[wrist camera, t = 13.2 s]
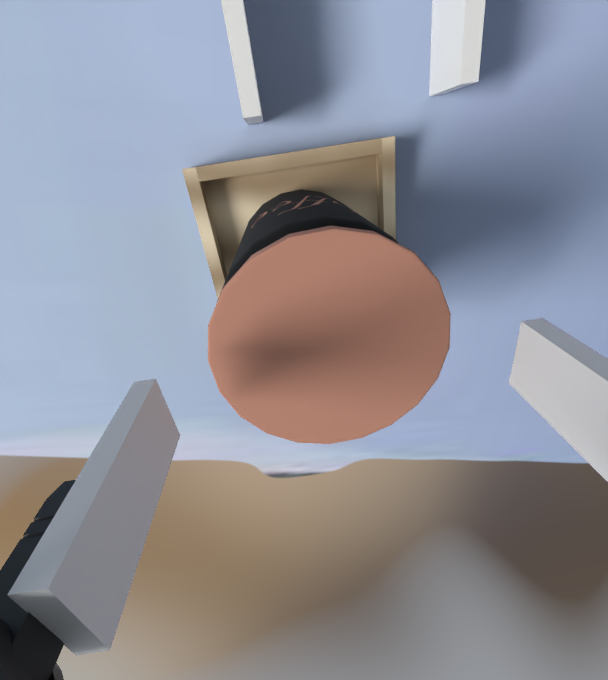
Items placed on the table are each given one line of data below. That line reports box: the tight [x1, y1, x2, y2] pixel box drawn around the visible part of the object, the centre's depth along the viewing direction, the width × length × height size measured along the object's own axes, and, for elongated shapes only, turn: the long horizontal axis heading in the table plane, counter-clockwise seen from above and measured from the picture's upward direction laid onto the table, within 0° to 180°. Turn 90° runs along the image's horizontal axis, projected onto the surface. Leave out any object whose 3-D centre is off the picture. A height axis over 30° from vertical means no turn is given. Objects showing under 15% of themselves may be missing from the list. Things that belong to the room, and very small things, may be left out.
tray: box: [182, 136, 396, 298], centre depth 30 cm, size 16×16×2 cm
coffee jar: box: [208, 189, 450, 444], centre depth 23 cm, size 11×11×18 cm
